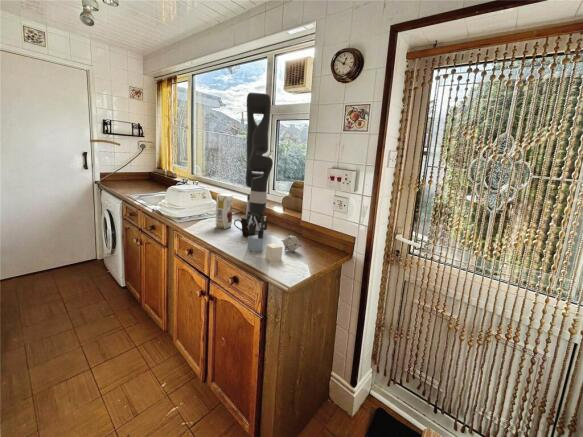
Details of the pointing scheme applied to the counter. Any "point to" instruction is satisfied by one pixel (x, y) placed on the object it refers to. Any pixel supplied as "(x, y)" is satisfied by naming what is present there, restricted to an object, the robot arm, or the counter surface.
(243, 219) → the coffee mug
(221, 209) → the juice carton
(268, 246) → the cream block
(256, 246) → the slate block
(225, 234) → the counter surface
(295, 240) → the game die
